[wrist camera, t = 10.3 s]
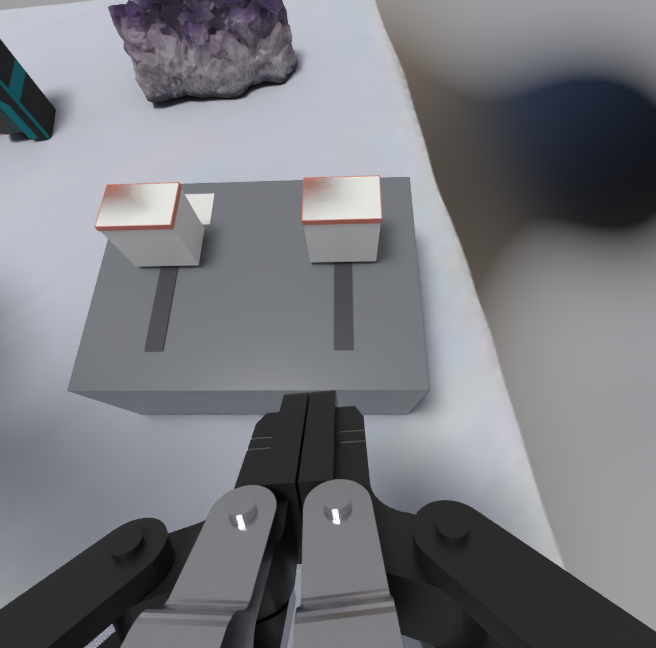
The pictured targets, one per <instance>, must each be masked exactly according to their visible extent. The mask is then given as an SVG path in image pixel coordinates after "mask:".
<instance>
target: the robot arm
mask: <svg viewBox="0 0 656 648" xmlns="http://www.w3.org/2000/svg"><path fill="white" fill-rule="evenodd" d="M297 564H302V587H301V606H300V607H297V609H296V613H295V623H294V647H293V648H404V647H403V642H402V637H401V634H402V635H405V636H408V637H411V638H414V639H416V640H419V641H420V642H421V645H422V646H423V648H656V632H655V631H654V630H652V629H651V628H649V627H648V626H647V625H645V624H644V623H642V622H641V621H639V620H638V619H636V618H634V617H633V616H632V615H630V614H629V613H627V612H626V611H624V610H623V609H621V608H620V607H618V606H617V605H615V604H614V603H613V602H611V601H610V600H608V599H607V598H605V597H603V596H602V595H601V594H599V593H598V592H596V591H595V590H593V589H592V588H590V587H588V586H587V585H586V584H584V583H583V582H581V581H580V580H578V579H577V578H576V577H574V576H573V575H571V574H570V573H568V572H567V571H565V570H564V569H562V568H561V567H559V566H558V565H556V564H555V563H553V562H552V561H550V560H549V559H547V558H546V557H544V556H543V555H541V554H540V553H539V552H537V551H536V550H534V549H533V548H531V547H530V546H528V545H527V544H525V543H524V542H522V541H521V540H519V539H518V538H516V537H515V536H513V535H512V534H510V533H509V532H507V531H506V530H504V529H503V528H502V527H500V526H499V525H497V524H496V523H494V522H493V521H491V520H490V519H488V518H487V517H485V516H484V515H482V514H481V513H479V512H478V511H476V510H475V509H473V508H471V507H470V506H468V505H465V504H463V503H460V502H456V501H448V500H442V501H435V502H432V503H429V504H427V505H425V506H424V507H422V508H421V509H420V510H419V511H418V512H417V514H416V515H415V514H410V513H405V512H401V511H398V510H395V509H392V508H390V507H388V506H386V505H385V504H383V503H382V502H381V501H379V500H378V498H377V497H376V496H375V495H374V493H373V492H372V489H371V486H370V479H369V469H368V459H367V448H366V438H365V428H364V418H363V415H362V414H361V413H360V411H359V410H358V409H357V408H356V407H355V406H346V407H338V402H337V394H336V390H329V391H317V392H311V393H309V392H306V393H294V394H284V396H283V399H282V403H281V407H280V411H279V412H273V413H266V414H265V416H264V417H263V418H262V419H261V420H260V421H259V422H258V423H257V424H256V426H255V429H254V432H253V435H252V440H251V441H250V444H249V447H248V451H247V453H246V455H245V458H244V461H243V464H242V467H241V470H240V473H239V476H238V479H237V482H236V485H235V488H234V490H231V491H230V492H228V493H226V494H225V495H224V496H222V497H221V498H220V499H219V500H218V501H217V502H216V503H215V504H214V506H213V507H212V509H211V511H210V513H209V515H208V517H207V519H206V520H205V521H203V522H200V523H198V524H195V525H192V526H189V527H186V528H183V529H180V530H177V531H174V532H171V533H168V532H167V529H166V527H165V525H164V524H163V522H161V521H160V520H158V519H155V518H141V519H137V520H133V521H130V522H128V523H126V524H124V525H122V526H120V527H118V528H117V529H115V530H114V531H112V532H111V533H109V534H108V535H106V536H105V537H103V538H102V539H101V540H99V541H98V542H96V543H95V544H93V545H92V546H91V547H89V548H88V549H86V550H85V551H83V552H82V553H81V554H79V555H78V556H76V557H75V558H73V559H72V560H70V561H69V562H68V563H66V564H65V565H63V566H62V567H60V568H59V569H58V570H56V571H55V572H53V573H52V574H50V575H49V576H48V577H46V578H45V579H43V580H42V581H40V582H39V583H37V584H36V585H35V586H33V587H32V588H30V589H29V590H27V591H26V592H25V593H23V594H22V595H20V596H19V597H17V598H16V599H15V600H13V601H12V602H10V603H9V604H7V605H6V606H4V607H3V608H2V609H0V648H84V647H85V646H86V645H88V644H89V643H90V642H91V641H92V640H93V639H95V638H96V637H97V636H98V635H99V634H100V633H101V632H103V631H104V630H105V629H106V628H107V627H108V626H110V625H111V624H113V626H114V628H115V630H116V631H115V632H114V633H113V634H112V635H111V636H109V637H108V638H107V639H106V640H105V641H104V642H103V643H101V644H100V645H99V646H98V647H97V648H287V646H288V641H289V635H290V629H291V624H292V618H293V612H294V607H295V599H296V595H295V589H294V585H295V577H296V568H297Z"/></svg>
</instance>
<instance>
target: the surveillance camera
mask: <svg viewBox="0 0 656 648" xmlns="http://www.w3.org/2000/svg"><path fill="white" fill-rule="evenodd" d="M55 111H56V110H55V108H54V107H53V106H52V104H51V103H50V102H49V100H48V99H47V98H46V97H45V95H44V94H43V93H42V92H41V90H40V89H39V88H38V86H37V85H36V84H35V83H34V81H33V80H32V79H31V78H30V76H29V75H28V74H27V72H26V71H25V70H24V69H23V67H22V66H21V65H20V64H19V62H18V61H17V60H16V58H15V57H14V56H13V55H12V53H11V52H10V51H9V50H8V48H7V47H6V46H5V44H4V43H3V42H2V41H1V39H0V133H2V134H13V133H19V132H24V134H25V135H26V136H27V137H28V138H34V139H49V138H51V137H52V133H53V126H54V118H55Z"/></svg>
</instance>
